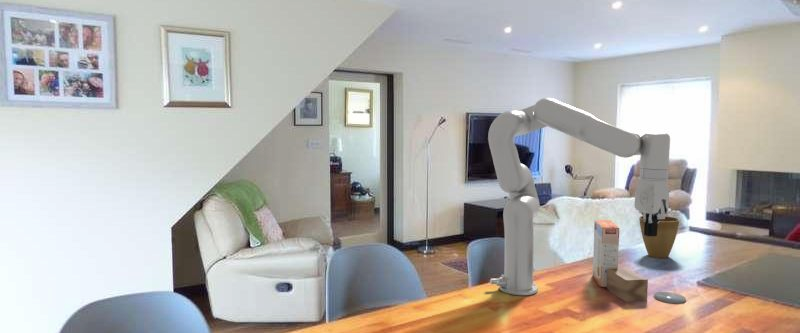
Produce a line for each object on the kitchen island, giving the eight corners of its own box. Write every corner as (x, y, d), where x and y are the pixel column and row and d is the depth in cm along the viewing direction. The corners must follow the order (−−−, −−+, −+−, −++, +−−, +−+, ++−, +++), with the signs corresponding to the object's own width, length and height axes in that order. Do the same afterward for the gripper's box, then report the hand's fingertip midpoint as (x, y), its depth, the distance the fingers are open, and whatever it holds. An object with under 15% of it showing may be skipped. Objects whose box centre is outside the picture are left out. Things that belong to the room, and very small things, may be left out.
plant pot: (679, 254, 215) (680, 216, 213) (676, 262, 202) (678, 222, 201) (640, 249, 223) (641, 213, 221) (635, 257, 210) (636, 219, 209)
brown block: (625, 302, 159) (626, 280, 159) (607, 289, 171) (607, 269, 171) (647, 301, 160) (647, 279, 159) (626, 288, 172) (627, 268, 171)
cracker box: (618, 288, 172) (620, 227, 170) (599, 287, 173) (601, 227, 171) (609, 276, 185) (611, 219, 183) (592, 275, 186) (593, 219, 185)
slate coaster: (665, 304, 157) (666, 302, 157) (647, 294, 166) (647, 292, 166) (692, 302, 158) (692, 300, 158) (672, 292, 167) (672, 291, 167)
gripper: (627, 171, 157) (624, 230, 158) (658, 177, 142) (654, 242, 144) (649, 171, 158) (646, 229, 159) (682, 177, 143) (679, 241, 145)
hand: (650, 235), depth 152 cm, fingers closed
